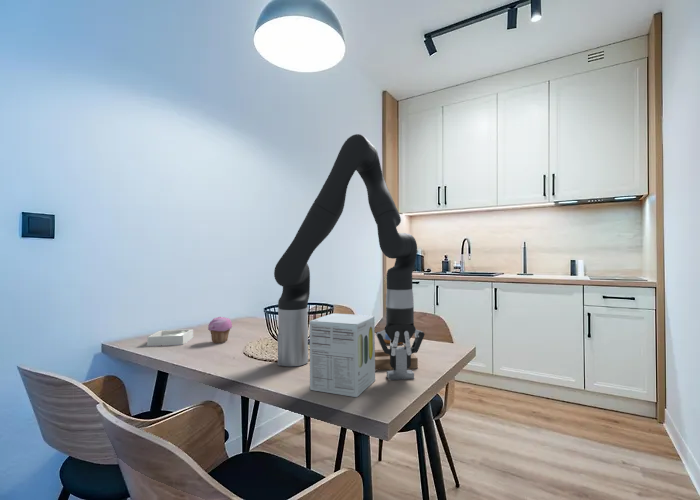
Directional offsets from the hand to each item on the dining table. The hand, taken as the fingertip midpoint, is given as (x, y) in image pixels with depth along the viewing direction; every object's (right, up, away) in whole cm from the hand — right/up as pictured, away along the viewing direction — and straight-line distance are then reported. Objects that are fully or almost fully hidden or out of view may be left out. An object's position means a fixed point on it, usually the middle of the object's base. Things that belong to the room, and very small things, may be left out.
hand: (400, 368), depth 100 cm
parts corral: (-85, -4, +46) cm, 97 cm away
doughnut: (+3, -4, +41) cm, 41 cm away
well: (-4, -3, +13) cm, 14 cm away
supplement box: (-15, -3, -5) cm, 17 cm away
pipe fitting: (-84, -5, +46) cm, 96 cm away
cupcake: (-65, -4, +44) cm, 78 cm away
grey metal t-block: (0, -3, 0) cm, 3 cm away
